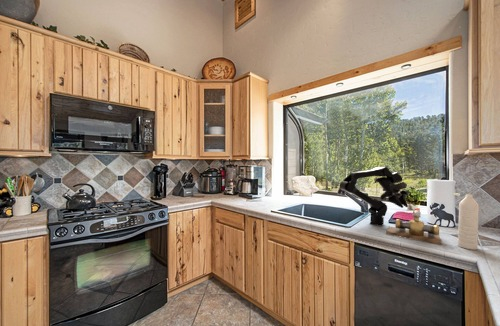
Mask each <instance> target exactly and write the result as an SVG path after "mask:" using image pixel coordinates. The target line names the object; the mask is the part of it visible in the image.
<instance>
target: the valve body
mask: <svg viewBox="0 0 500 326" xmlns="http://www.w3.org/2000/svg"><path fill="white" fill-rule="evenodd" d="M394 227H396V228H399V232H403V233H405V229H407V230H409V233H410V234H412V235H416V236H424V233H428V237H430V238H434V235H440V225H437V224H436V225H435V224H433V225H428V224H425V222H424V221H421V220H420V217H413V219H409V220H408V221H404V220H401V219H399V218H398V219H397V218H396V219H395V225H394Z"/></svg>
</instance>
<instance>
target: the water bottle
mask: <svg viewBox="0 0 500 326" xmlns="http://www.w3.org/2000/svg"><path fill="white" fill-rule="evenodd" d="M452 195H453V196H457V197H458V196H459V197H460V196H461V193H459V192H458V193H457V192H453V193H452ZM458 204H459V205H458V225H457V226H458V228H457V230H458V232H457V234H458V235H457V238H458V240H457V245H458V246H459V247H461V248H464V249H466V250H472V251H473V250H478V243H479V242H478V238H479V235H478V234H479V232H478V231H479V214H480V213H479V210H480V206H479V203H478V202H477V201H476V200H475V199H474V196H473V194H469V193H466V194H465V196H464V198H463V199H462V200H461V201H459V203H458Z"/></svg>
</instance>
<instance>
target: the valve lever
mask: <svg viewBox="0 0 500 326" xmlns="http://www.w3.org/2000/svg"><path fill="white" fill-rule="evenodd" d="M421 215H422V214H421V209H420V207H414V211H412V217H413V218H414V217H419V218H421Z"/></svg>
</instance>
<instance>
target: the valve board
mask: <svg viewBox="0 0 500 326" xmlns="http://www.w3.org/2000/svg"><path fill="white" fill-rule="evenodd" d="M385 234H386V235H389V236H394V235H395V236H394V237H399V236H401V238H404V237H406V239H409V238H411V239H410V240H415V239H416V240H415V241H420V240H421V242H425V241H426V243H430V242H431V243H430V244H434V245H442V244H441V242H442V241H441V236H440V234H439V235H434V238H430V237H428V232H424V236H416V235H412V234H410V233H409V229H406V228H405V233H403V232H399V228H396V226H391V225H389V226H388V227H387V228H386V231H385Z"/></svg>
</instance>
